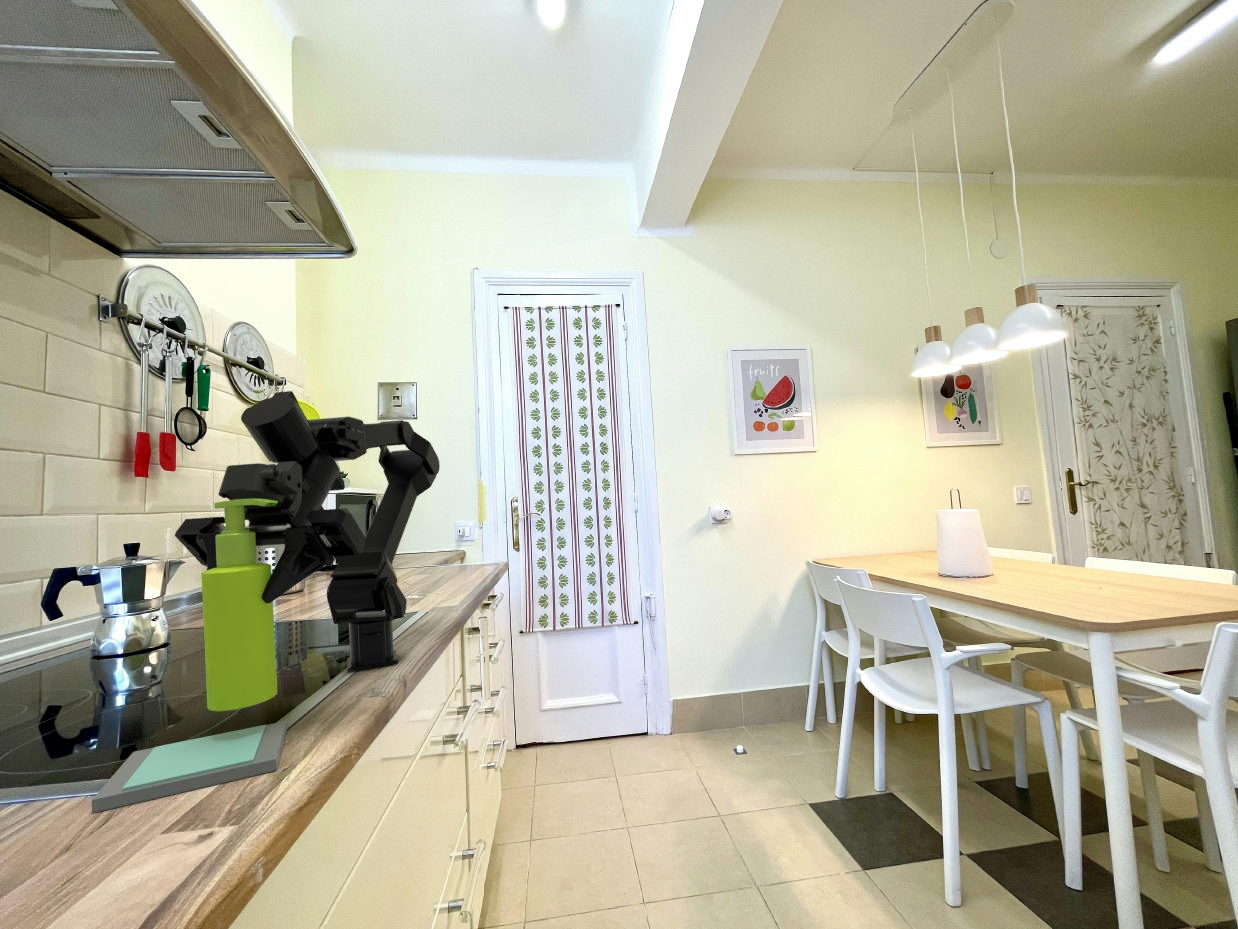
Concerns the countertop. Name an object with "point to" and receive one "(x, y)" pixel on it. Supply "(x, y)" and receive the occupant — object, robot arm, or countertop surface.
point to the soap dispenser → (238, 617)
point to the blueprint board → (193, 765)
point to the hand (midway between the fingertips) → (235, 602)
